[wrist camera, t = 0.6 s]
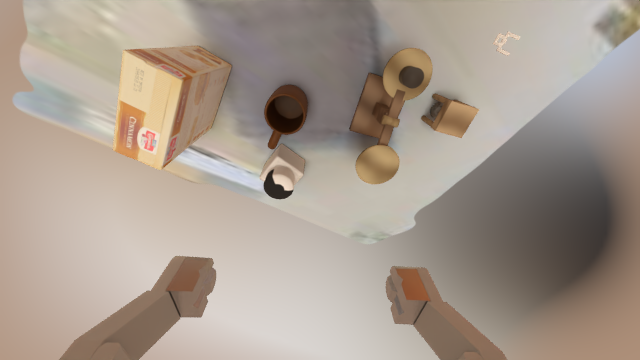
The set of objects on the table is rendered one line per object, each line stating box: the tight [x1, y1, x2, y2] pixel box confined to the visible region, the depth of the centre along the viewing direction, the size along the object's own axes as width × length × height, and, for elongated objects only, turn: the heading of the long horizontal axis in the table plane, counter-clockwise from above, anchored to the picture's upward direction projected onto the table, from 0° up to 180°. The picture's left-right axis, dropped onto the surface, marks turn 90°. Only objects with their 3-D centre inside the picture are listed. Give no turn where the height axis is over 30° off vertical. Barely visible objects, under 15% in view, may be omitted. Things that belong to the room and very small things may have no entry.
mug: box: [264, 85, 308, 149], centre depth 46 cm, size 12×8×9 cm, turn 153°
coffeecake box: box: [113, 46, 232, 170], centre depth 39 cm, size 15×7×20 cm, turn 150°
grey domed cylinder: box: [430, 102, 444, 119], centre depth 48 cm, size 4×4×4 cm
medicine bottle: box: [260, 144, 305, 199], centre depth 51 cm, size 7×7×12 cm
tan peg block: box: [421, 94, 479, 138], centre depth 47 cm, size 6×6×8 cm
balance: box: [349, 48, 432, 184], centre depth 44 cm, size 23×9×13 cm, turn 165°
